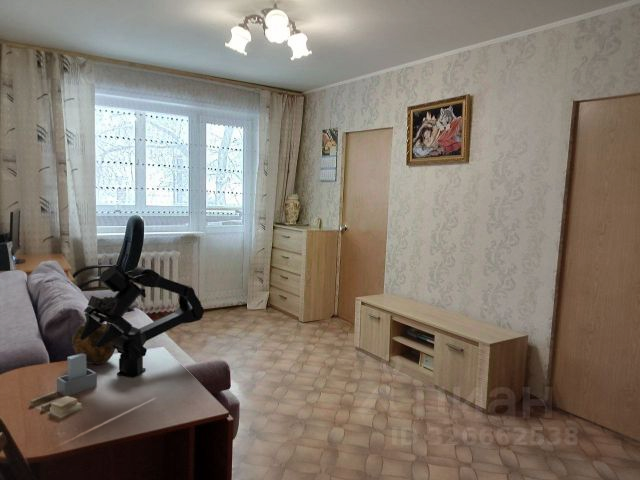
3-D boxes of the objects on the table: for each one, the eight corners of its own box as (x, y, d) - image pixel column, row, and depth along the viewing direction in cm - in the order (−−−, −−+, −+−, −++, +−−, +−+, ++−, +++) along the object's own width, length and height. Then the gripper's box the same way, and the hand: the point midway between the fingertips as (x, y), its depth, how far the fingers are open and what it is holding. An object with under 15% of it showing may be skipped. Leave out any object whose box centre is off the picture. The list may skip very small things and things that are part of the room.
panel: (83, 384, 139) (82, 353, 138) (86, 386, 138) (86, 354, 137) (67, 389, 136) (67, 357, 134) (71, 391, 134) (70, 358, 133)
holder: (88, 382, 142) (88, 368, 141) (96, 387, 139) (96, 373, 139) (56, 392, 135) (56, 377, 134) (65, 398, 132) (65, 382, 131)
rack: (53, 396, 132) (53, 385, 132) (84, 410, 126) (84, 398, 125) (28, 406, 126) (27, 394, 126) (59, 421, 120) (59, 409, 119)
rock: (122, 357, 163) (122, 316, 161) (103, 372, 150) (103, 327, 148) (87, 355, 163) (86, 314, 161) (65, 369, 151) (64, 325, 149)
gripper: (89, 280, 146) (53, 321, 138) (122, 291, 135) (85, 336, 127) (113, 300, 153) (80, 340, 146) (146, 312, 142) (112, 356, 135)
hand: (88, 343), depth 138 cm, fingers open, 9 cm apart
